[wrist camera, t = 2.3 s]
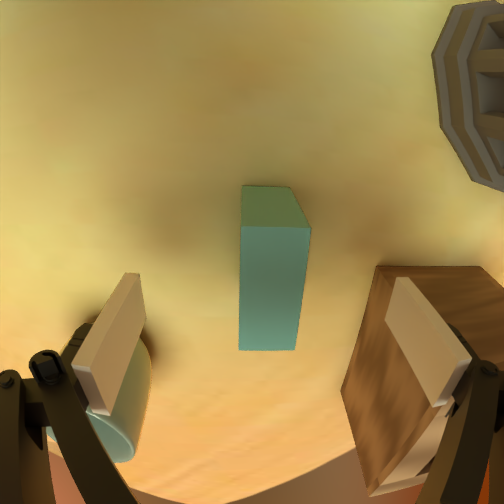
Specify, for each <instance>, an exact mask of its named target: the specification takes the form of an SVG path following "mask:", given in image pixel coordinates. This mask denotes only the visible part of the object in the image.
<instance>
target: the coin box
mask: <svg viewBox="0 0 504 504" xmlns="http://www.w3.org/2000/svg"><path fill="white" fill-rule="evenodd" d="M396 277H409V278H410V280H411V281H412V282H413V283H414V284H415V285H416V287H417V288H418V289H419V290H420V291H421V293H422V294H423V295H424V296H425V298H426V299H427V300H428V301H429V302H430V304H431V305H432V306H433V307H434V309H435V310H436V311H437V312H438V314H439V315H440V316H441V317H442V319H443V320H444V321H445V323H450V324H451V325H453V326H454V327H455V328H457V329H458V330H459V332H460V333H461V334H462V336H463V337H464V338H465V339H466V341H467V343H469V345H470V346H471V347H472V349H473V350H474V351H475V353H476V354H477V355H478V357H479V358H480V359H481V360H487V361H490V362H492V363H494V364H495V365H496V366H497V367H498V369H499V370H501V371H504V288H503V287H502V286H501V285H500V284H499V283H498V282H497V281H496V280H495V279H494V278H492V277H491V276H490V275H489V274H488V273H487V272H486V271H485V270H484V269H483V268H481V267H480V266H376V270H375V274H374V278H373V282H372V287H371V291H370V295H369V298H368V302H367V306H366V310H365V314H364V317H363V321H362V324H361V328H360V331H359V335H358V338H357V342H356V345H355V348H354V351H353V355H352V358H351V361H350V364H349V367H348V370H347V373H346V376H345V379H344V382H343V385H342V388H341V395H342V398H343V402H344V405H345V409H346V412H347V416H348V419H349V423H350V427H351V430H352V434H353V438H354V441H355V445H356V449H357V453H358V456H359V460H360V464H361V468H362V471H363V476H364V479H365V484H366V487H367V492H368V496H369V497H371V496H376V495H380V494H385V493H388V492H392V491H396V490H400V489H404V488H407V487H411V486H414V485H418V484H421V483H424V482H425V481H426V478H427V476H428V473H429V471H430V468H431V466H432V463H433V461H434V458H435V455H436V453H437V450H438V447H439V444H440V441H441V439H442V436H443V433H444V429H445V426H446V423H447V420H448V417H449V415H448V416H447V417H445V415H446V413H447V412H448V410H449V409H450V407H451V406H452V404H453V403H454V401H455V400H454V398H453V396H452V395H451V397H450V398H449V400H448V402H447V403H446V404H445V405H441V406H437V407H432V406H431V404H430V402H429V400H428V398H427V396H426V394H425V392H424V390H423V388H422V386H421V384H420V383H419V381H418V379H417V377H416V375H415V373H414V371H413V369H412V368H411V366H410V364H409V362H408V360H407V358H406V357H405V355H404V353H403V351H402V349H401V348H400V346H399V344H398V342H397V341H396V339H395V337H394V335H393V334H392V332H391V330H390V328H389V327H388V325H387V323H386V322H385V317H386V313H387V310H388V306H389V303H390V299H391V296H392V292H393V288H394V285H395V281H396Z"/></svg>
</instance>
